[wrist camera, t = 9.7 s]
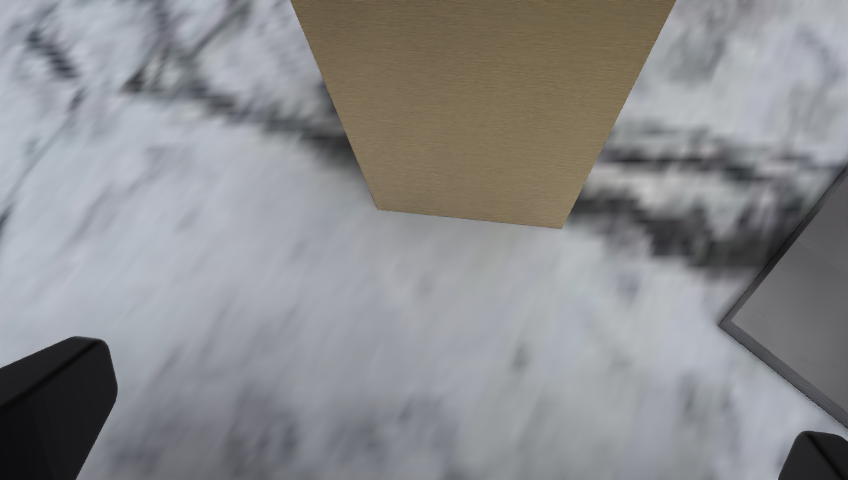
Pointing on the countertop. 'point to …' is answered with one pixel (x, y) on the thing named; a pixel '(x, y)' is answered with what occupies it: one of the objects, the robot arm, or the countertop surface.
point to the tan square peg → (480, 96)
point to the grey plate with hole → (804, 306)
